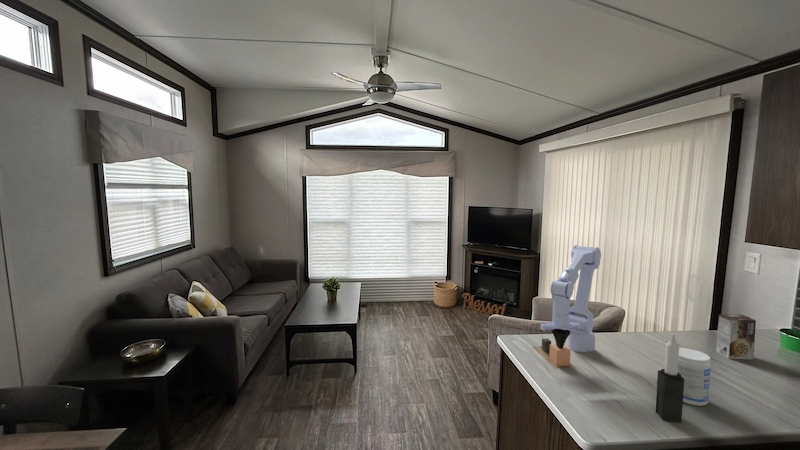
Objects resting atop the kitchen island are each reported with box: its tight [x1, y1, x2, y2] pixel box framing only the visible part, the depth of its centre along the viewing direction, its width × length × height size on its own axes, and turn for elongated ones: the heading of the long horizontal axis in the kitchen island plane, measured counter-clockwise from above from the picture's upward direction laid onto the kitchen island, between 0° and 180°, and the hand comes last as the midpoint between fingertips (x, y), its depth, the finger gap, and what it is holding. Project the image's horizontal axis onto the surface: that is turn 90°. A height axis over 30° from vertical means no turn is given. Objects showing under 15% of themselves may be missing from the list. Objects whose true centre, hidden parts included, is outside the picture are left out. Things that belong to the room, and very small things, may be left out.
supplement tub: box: [678, 347, 712, 407], centre depth 108 cm, size 10×10×15 cm
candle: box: [655, 333, 684, 423], centre depth 99 cm, size 5×5×25 cm
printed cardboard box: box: [715, 313, 757, 360], centre depth 136 cm, size 9×6×16 cm
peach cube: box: [549, 343, 571, 366], centre depth 129 cm, size 5×5×6 cm
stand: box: [532, 338, 576, 369], centre depth 134 cm, size 8×18×6 cm, turn 4°
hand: (559, 347), depth 129 cm, fingers closed, pressing on peach cube
